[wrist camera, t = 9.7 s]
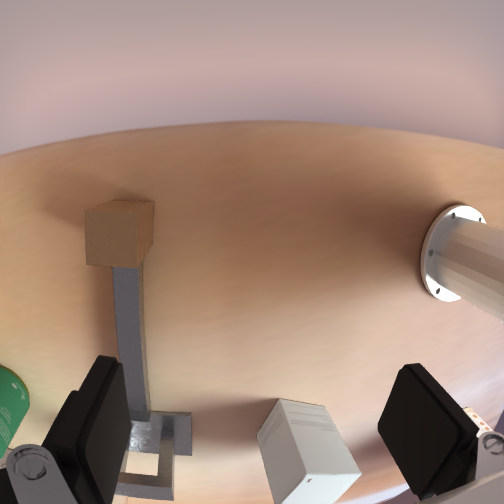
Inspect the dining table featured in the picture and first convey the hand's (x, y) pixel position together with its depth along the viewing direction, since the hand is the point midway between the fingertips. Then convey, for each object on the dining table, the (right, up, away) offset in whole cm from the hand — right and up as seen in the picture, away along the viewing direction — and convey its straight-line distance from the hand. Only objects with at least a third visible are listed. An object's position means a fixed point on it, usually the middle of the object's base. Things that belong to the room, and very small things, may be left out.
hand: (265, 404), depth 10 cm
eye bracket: (-14, -18, +26) cm, 35 cm away
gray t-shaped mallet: (-13, -2, +22) cm, 25 cm away
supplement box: (+5, -17, +29) cm, 34 cm away
